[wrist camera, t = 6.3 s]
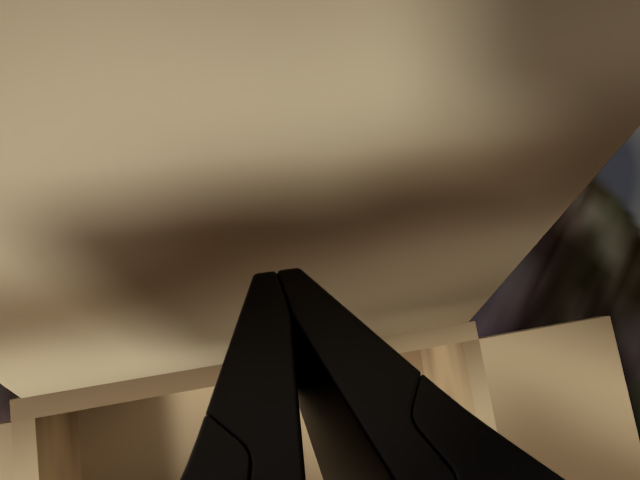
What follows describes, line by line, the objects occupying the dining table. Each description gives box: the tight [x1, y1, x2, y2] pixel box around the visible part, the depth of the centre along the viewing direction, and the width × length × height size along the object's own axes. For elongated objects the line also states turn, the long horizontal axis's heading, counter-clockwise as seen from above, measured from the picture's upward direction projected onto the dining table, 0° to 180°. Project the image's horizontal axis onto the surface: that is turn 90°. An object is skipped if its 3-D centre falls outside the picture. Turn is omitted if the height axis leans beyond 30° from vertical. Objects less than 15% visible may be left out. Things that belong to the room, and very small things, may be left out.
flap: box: [0, 0, 640, 398], centre depth 10 cm, size 12×13×1 cm
